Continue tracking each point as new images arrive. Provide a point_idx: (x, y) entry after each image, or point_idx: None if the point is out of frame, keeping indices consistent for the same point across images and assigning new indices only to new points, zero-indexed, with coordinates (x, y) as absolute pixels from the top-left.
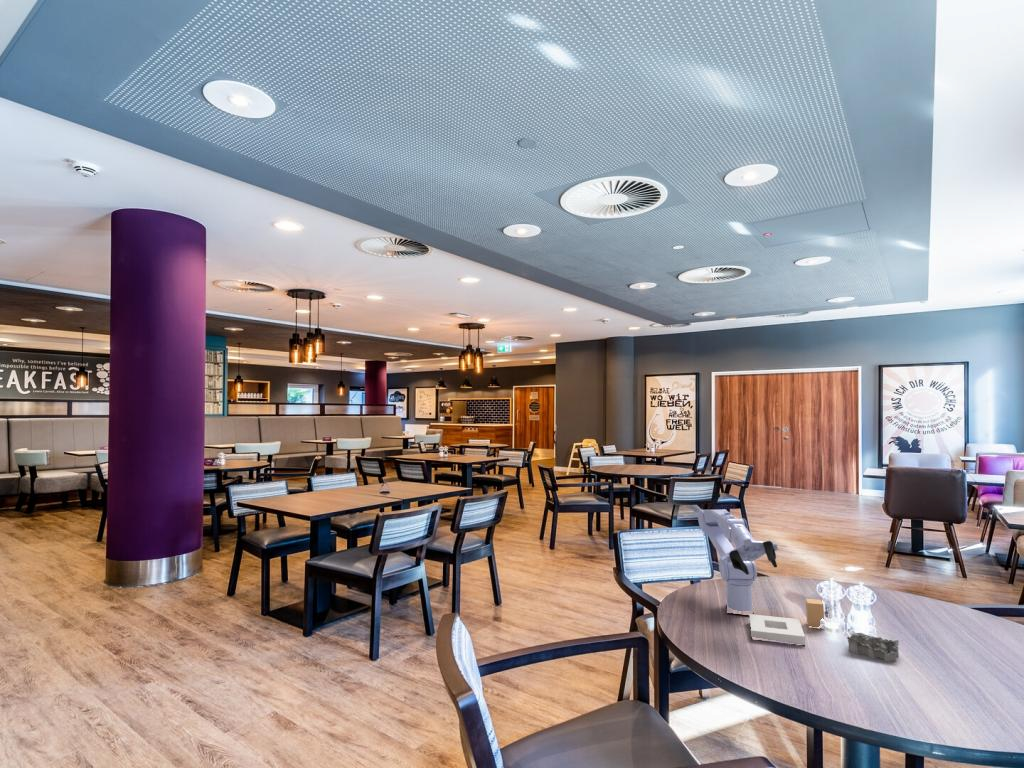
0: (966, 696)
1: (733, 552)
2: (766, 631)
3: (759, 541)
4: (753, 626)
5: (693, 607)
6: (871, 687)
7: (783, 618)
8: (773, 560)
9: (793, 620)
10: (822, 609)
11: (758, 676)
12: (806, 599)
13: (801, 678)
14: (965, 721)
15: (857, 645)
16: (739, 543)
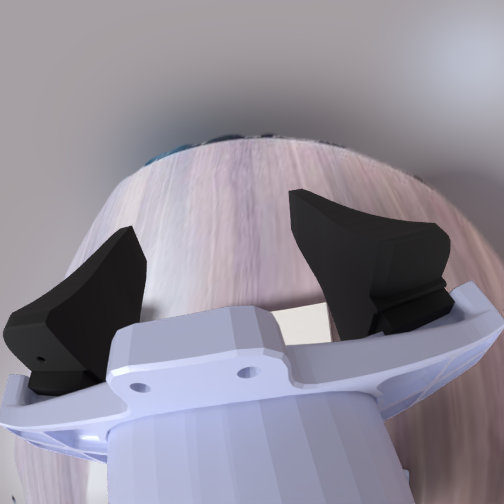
0: (94, 251)
1: (412, 227)
2: (287, 313)
3: (58, 420)
4: (322, 335)
5: (492, 463)
6: (164, 220)
7: None
8: (126, 227)
9: None
10: None
11: (298, 170)
12: None
13: (240, 195)
14: (121, 202)
15: None
16: (382, 477)
